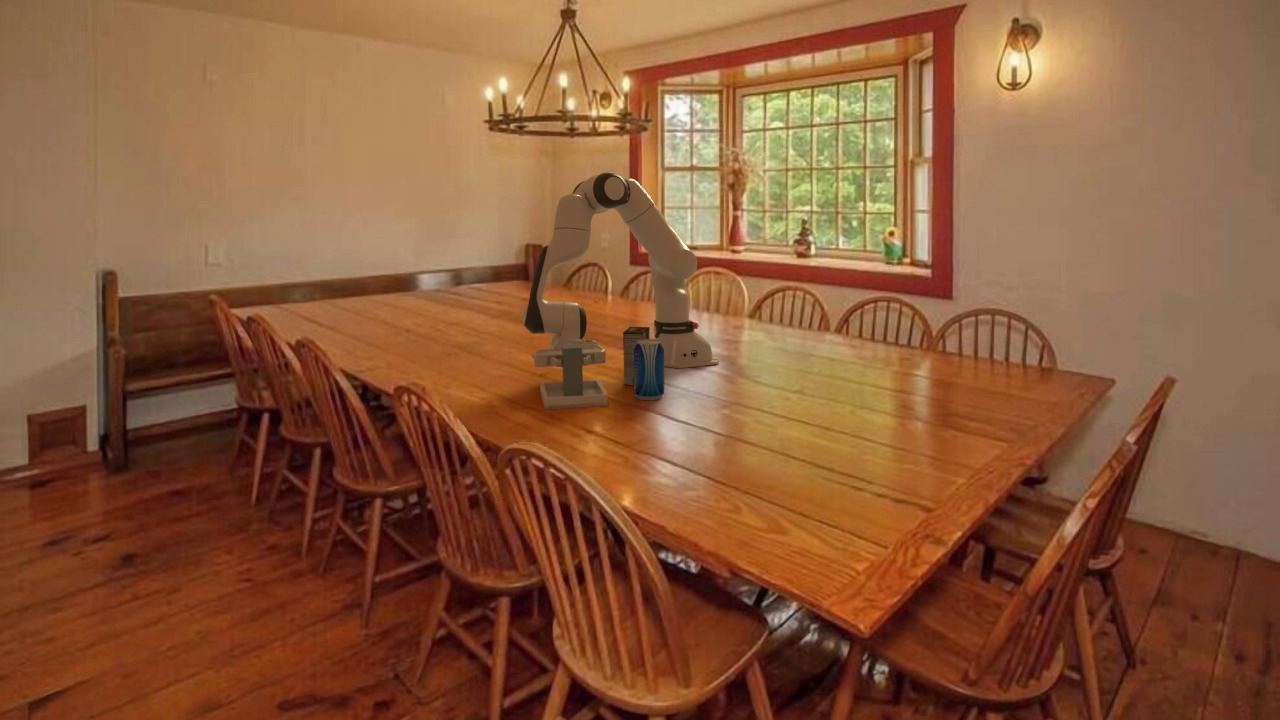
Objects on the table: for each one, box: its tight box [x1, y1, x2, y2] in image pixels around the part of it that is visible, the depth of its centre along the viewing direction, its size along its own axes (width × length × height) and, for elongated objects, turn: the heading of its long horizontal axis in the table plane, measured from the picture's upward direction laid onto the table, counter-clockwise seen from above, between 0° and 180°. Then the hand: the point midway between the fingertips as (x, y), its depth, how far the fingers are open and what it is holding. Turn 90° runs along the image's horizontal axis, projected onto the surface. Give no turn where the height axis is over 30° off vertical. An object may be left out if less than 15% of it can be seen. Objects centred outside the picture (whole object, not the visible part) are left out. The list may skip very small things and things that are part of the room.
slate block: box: [561, 344, 584, 397], centre depth 217 cm, size 5×5×14 cm
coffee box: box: [622, 326, 651, 386], centre depth 235 cm, size 9×6×16 cm
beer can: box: [633, 338, 665, 401], centre depth 218 cm, size 8×8×16 cm
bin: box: [539, 378, 609, 411], centre depth 219 cm, size 17×17×3 cm
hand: (572, 363), depth 216 cm, fingers open, 6 cm apart
